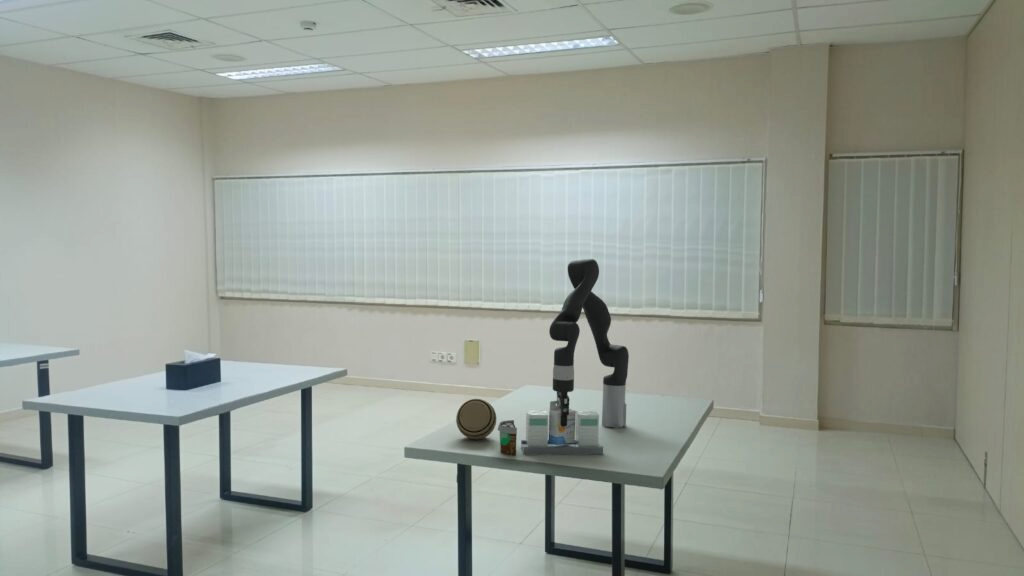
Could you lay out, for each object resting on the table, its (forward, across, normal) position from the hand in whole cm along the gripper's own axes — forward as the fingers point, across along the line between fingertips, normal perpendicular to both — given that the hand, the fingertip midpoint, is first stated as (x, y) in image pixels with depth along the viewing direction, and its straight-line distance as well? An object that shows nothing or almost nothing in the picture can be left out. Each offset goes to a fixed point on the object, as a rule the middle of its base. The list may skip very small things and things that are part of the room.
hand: (562, 423), depth 262 cm
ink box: (+7, 0, 0) cm, 7 cm away
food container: (+10, -2, +20) cm, 22 cm away
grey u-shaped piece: (+10, 0, 0) cm, 10 cm away
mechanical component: (+10, +16, +30) cm, 35 cm away
